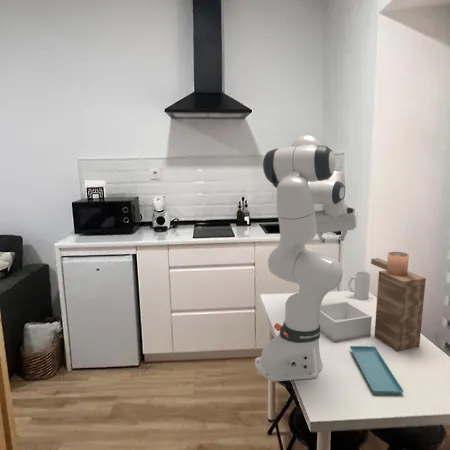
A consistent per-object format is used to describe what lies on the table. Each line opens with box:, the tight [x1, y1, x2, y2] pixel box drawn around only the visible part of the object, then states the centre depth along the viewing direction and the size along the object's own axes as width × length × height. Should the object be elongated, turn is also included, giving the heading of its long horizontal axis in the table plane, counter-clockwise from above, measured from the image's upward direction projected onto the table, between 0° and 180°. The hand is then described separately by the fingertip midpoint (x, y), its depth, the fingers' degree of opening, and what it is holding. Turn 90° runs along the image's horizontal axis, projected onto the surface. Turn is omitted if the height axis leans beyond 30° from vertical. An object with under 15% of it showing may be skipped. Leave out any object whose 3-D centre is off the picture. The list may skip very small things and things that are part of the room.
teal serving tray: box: [349, 345, 404, 396], centre depth 133 cm, size 26×9×2 cm, turn 178°
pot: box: [370, 251, 410, 276], centre depth 153 cm, size 16×7×7 cm, turn 19°
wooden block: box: [374, 270, 427, 352], centre depth 150 cm, size 10×12×26 cm
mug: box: [347, 271, 371, 301], centre depth 195 cm, size 10×7×12 cm, turn 92°
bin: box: [319, 301, 373, 343], centre depth 161 cm, size 16×16×8 cm
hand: (331, 241), depth 173 cm, fingers open, 8 cm apart
